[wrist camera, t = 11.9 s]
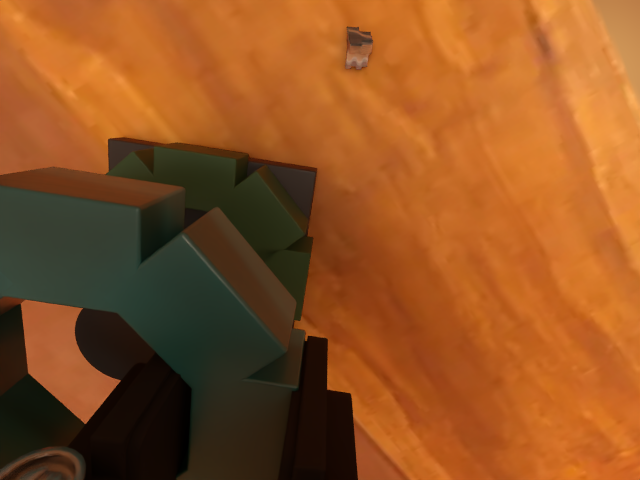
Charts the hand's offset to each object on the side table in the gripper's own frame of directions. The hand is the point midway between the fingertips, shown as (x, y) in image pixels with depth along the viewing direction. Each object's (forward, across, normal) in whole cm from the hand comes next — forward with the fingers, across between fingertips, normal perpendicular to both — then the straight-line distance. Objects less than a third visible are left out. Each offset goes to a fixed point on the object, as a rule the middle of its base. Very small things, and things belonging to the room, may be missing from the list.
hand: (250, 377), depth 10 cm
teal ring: (0, +4, 0) cm, 4 cm away
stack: (+9, +4, 0) cm, 10 cm away
